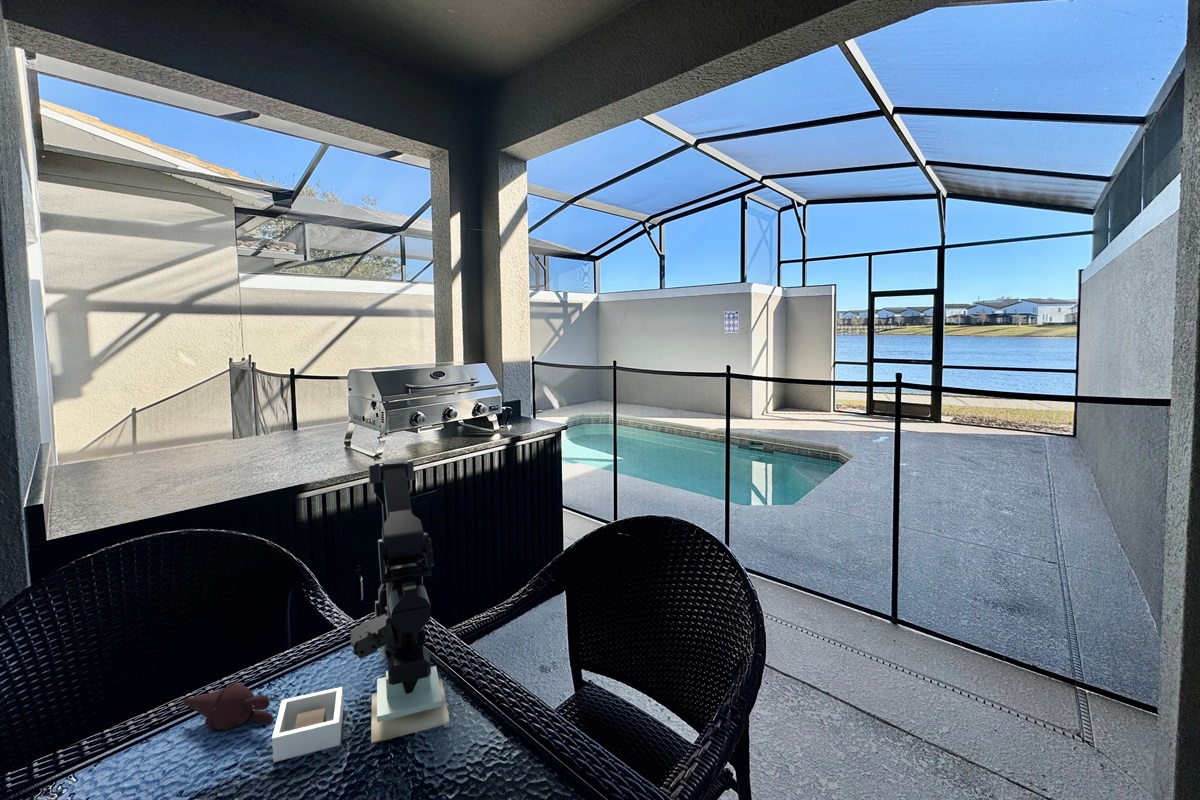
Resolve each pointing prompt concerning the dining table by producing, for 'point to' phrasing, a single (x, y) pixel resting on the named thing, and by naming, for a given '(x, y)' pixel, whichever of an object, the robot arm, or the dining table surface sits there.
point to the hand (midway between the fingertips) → (408, 687)
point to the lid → (407, 697)
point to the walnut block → (310, 718)
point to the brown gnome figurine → (230, 707)
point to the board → (408, 721)
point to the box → (311, 737)
